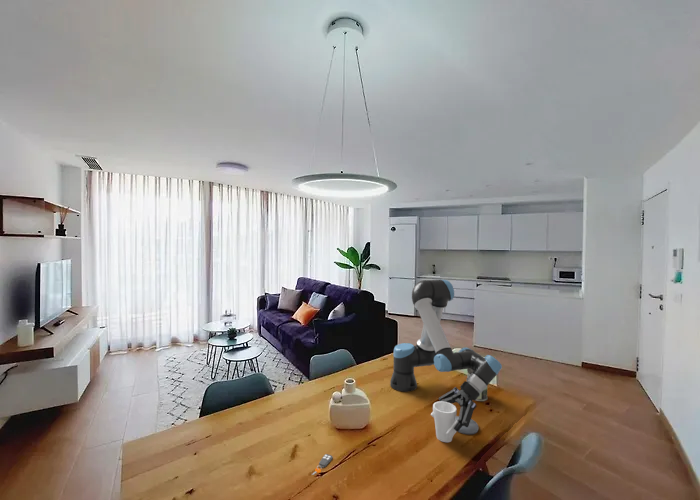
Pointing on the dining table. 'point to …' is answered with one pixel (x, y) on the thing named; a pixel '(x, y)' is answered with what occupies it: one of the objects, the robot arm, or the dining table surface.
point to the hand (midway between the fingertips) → (440, 425)
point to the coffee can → (482, 395)
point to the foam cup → (444, 419)
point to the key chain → (323, 462)
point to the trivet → (470, 429)
